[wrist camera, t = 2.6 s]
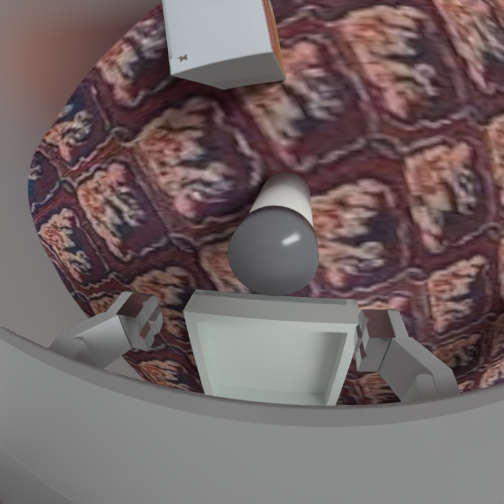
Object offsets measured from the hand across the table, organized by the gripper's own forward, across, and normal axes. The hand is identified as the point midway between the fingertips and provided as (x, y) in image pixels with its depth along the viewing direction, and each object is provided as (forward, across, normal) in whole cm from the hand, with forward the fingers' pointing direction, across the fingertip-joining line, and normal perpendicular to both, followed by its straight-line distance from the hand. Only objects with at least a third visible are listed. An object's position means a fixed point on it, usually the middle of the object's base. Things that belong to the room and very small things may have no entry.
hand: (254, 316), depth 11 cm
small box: (+17, -3, +14) cm, 22 cm away
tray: (+16, -1, -20) cm, 26 cm away
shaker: (+16, 0, 0) cm, 16 cm away
